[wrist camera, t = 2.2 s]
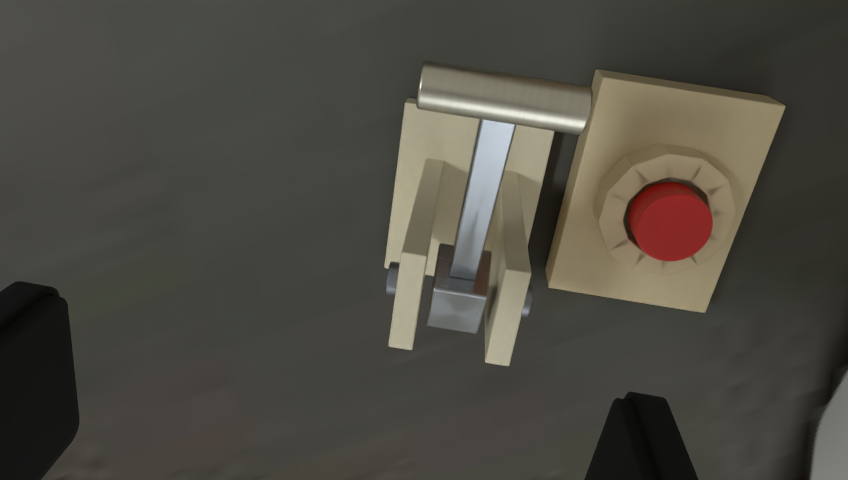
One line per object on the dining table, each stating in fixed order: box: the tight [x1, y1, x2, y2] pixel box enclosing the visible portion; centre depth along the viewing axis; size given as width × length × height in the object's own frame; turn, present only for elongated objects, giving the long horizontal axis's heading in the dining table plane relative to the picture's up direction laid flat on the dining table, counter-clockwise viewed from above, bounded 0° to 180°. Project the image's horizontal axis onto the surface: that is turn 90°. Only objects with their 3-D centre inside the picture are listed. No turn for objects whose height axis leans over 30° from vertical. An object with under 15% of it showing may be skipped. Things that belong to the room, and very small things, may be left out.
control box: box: [545, 69, 785, 313], centre depth 34 cm, size 12×9×4 cm
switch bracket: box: [384, 98, 555, 366], centre depth 31 cm, size 10×8×13 cm
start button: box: [629, 182, 713, 261], centre depth 31 cm, size 4×4×2 cm
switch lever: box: [416, 60, 593, 334], centre depth 23 cm, size 12×5×2 cm, turn 172°
